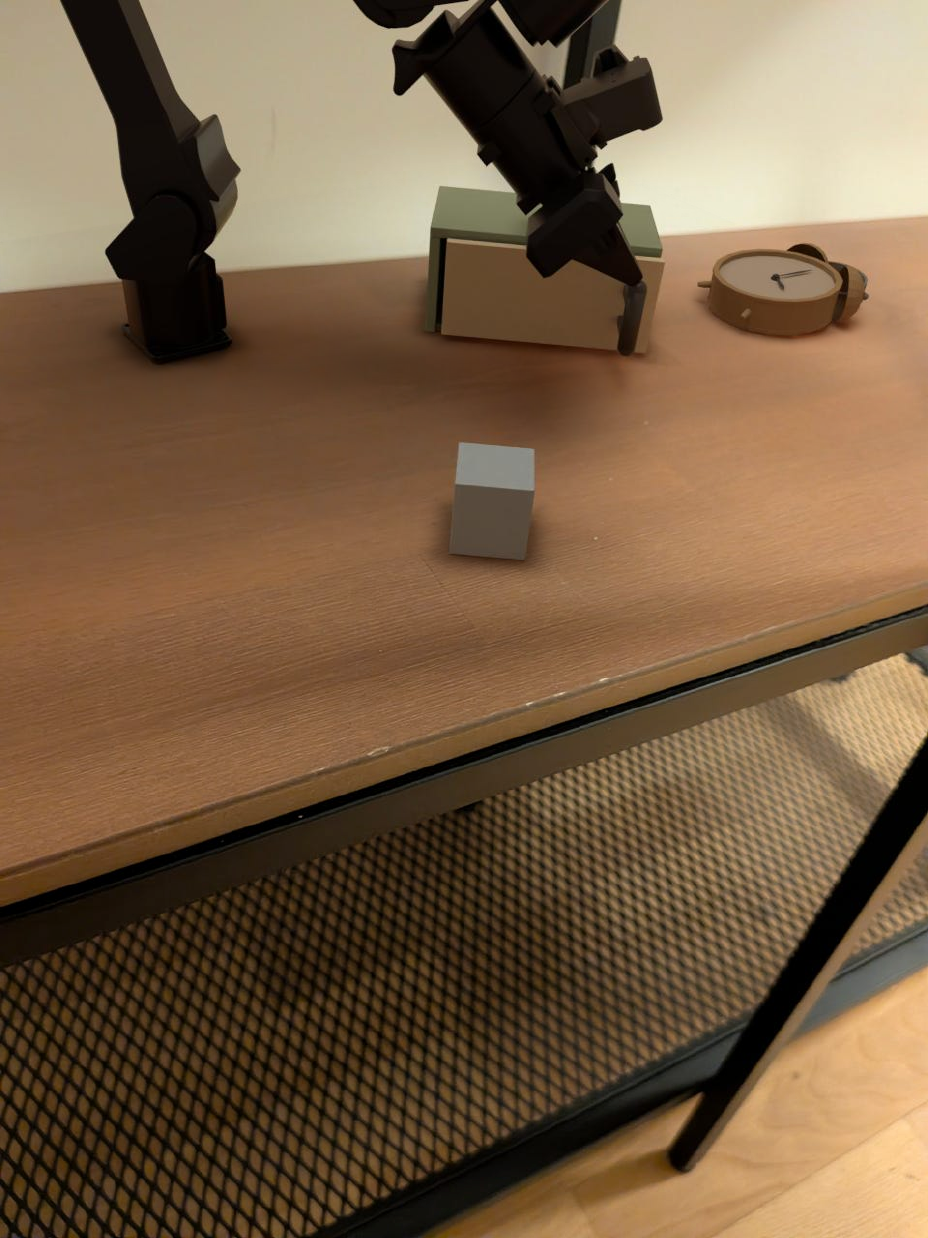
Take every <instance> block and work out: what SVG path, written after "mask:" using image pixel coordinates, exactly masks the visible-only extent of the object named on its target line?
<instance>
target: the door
mask: <svg viewBox="0 0 928 1238" xmlns="http://www.w3.org/2000/svg"><path fill="white" fill-rule="evenodd" d="M635 258H636V260H637V262H638V264H639V267H640V269H641V271H642V275H643V278H642V280H641V281H639V282H638V283H637V284H635V285H634V286H628V285H626V284H624V283H622V282H620V281H618V280H616V279H614V278H612V277H610V276H607V275H605V274H603V273H601V272H599V271H597V270H595V269H593V268H590V267H588V266H586V265H584V264H582V263H579V262H577V261H574V260H571V261H570V262H568V263H567V264H566V265H565V266H563V267H562V268H561V269H560V270H558V271H557V272H556V273H555V274H553V275H552V276H551V277H547V278H543V277H542V276H541V275H540V273H539V272H538V271H537V270H536V268H535V267H534V266H533V265H532V264H531V262H530V261H529V260H528V259H527V257H526V245H515V244H504V243H493V242H482V241H472V240H461V239H450V238H448V239H447V248H446V264H445V280H444V297H443V313H442V329H441V330H440V334H441V335H445V336H457V337H467V338H479V339H487V340H488V339H489V340H499V341H511V342H521V343H522V342H523V343H531V344H532V343H533V344H543V345H554V346H565V347H576V348H577V347H578V348H587V349H597V350H609V351H617V353H618V354H619V355H620V356H622V357H630V356H631V355H632V354H633V353H640V354H646V353H647V349H648V345H649V340H650V336H651V330H652V326H653V322H654V317H655V312H656V309H657V303H658V298H659V294H660V290H661V284H662V279H663V275H664V271H665V266H666V259H665V258H664V257H661V258H655V257H644V256H635Z"/></svg>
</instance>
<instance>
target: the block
mask: <svg viewBox="0 0 928 1238" xmlns="http://www.w3.org/2000/svg"><path fill="white" fill-rule="evenodd" d="M535 464H536V463H535V448H527V447H518V446H517V447H516V446H506V445H496V444H485V443H476V442H475V443H472V442H463V441H460V442H458V449H457V459H456V469H455V479H454V490H453V501H452V502H453V503H452V513H451V514H452V516H451V528H450V538H449V539H450V540H449V554H450V555H460V556H469V557H470V556H471V557H482V558H492V559H504V560H514V561H516V560H517V561H525V559H526V554H527V547H528V540H529V535H530V534H529V533H530V526H531V519H532V515H533V514H532V513H533V507H534V499H535V494H536V493H535V492H536V473H535V469H536V468H535Z"/></svg>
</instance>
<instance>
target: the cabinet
mask: <svg viewBox="0 0 928 1238" xmlns="http://www.w3.org/2000/svg"><path fill="white" fill-rule="evenodd" d="M516 196H517V194H516V193H515V192H510V191H500V190H489V189H479V188H467V187H457V186H448V185H447V186H446V185H439V186H438V191H437V194H436V200H435V204H434V209H433V212H432V213H433V214H432V217H431V218H432V219H431V223H430V230H429V231H430V232H429V233H430V234H429V248H428V249H429V251H428V267H427V268H428V269H427V270H428V271H427V288H426V289H427V290H426V306H425V307H426V310H425V327H424V328H425V329H424V330H425V332H429V333H430V332H431V333H435V332H436V331H441V329H442V313H443V297H444V280H445V264H446V248H447V239H448V238H450V239H461V240H472V241H482V242H493V243H504V244H515V245H526V233H527V224H528V218H529V217H530V216H531V215H532V214H533V213H535V212H536V211H537V210H538V209H539V208H540V207H542V206H543V205H542V204H539V205H538V206H537V207H535V208H534V209H533V210H532V211H531V212H529V213H528V214H527V215H526V216H525V214H524V213H523V212H522V211H521V209H520V208H519V207H518V206H517V204H516ZM621 206H622V210H623V216H622V217H621V219H620V220H619V222H620V224H621V226H622V228H623V231H624V233H625V235H626V237H627V240H628V242H629V244H630V246H631V249H632V251H633V253H634V255H635V256H644V257H655V258H662V256H663V251H664V248H663V244H662V241H661V237H660V234H659V231H658V228H657V224H656V220H655V218H654V217H655V216H654V213H653V210H652V207H651V205H649V204H638V203H629V202H621Z"/></svg>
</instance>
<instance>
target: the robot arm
mask: <svg viewBox="0 0 928 1238" xmlns="http://www.w3.org/2000/svg"><path fill="white" fill-rule="evenodd" d="M469 1H470V0H352V2H353V3H354V4H355V6H356V7H357V8H358V9H359V11H360V12H361V13H362V14H363V16H364V17H365V18H367V20H369V21H371V22H373V23H374V24H375V25H377V26H379V27H382V28H385V29H387V30H390V29H393V30H394V29H408V28H411V27H413V26H415V25H417V24H419V23H421V22H423V20H425V19H426V18H427V16H429V15H430V14H431V13H432V11H434V8H435V7H436V6H445V5H451V4H458V3H466V2H469ZM59 2H60V5H61V6H62V9H63V11H64V14H65V15H66V17H67V20H68V22H69V24H70V26H71V28H72V30H73V33H74V35H75V37H76V39H77V42H78V43H79V46H80V48H81V50H82V53H83V55H84V57H85V59H86V61H87V63H88V66H89V68H90V70H91V72H92V74H93V77H94V79H95V81H96V83H97V86H98V88H99V90H100V92H101V94H102V96H103V99H104V101H105V103H106V106H107V107H108V110H109V112H110V115H111V117H112V119H113V122H114V126H115V133H116V140H117V141H116V142H117V151H118V159H119V167H120V177H121V180H122V184H123V187H124V190H125V194H126V197H127V201H128V203H129V207H130V210H131V214H132V217H133V218H132V219H131V220H130V221H129V222H128V223H127V224H126V226H124V228H123V229H122V230H121V231H120V232H119V234H117V235H116V236H115V238H114V239H113V240H112V241H111V242H110V244H108V245H107V247H106V248H105V249H104V254H105V256H106V258H107V260H108V262H109V265H110V266H111V268H112V270H113V272H114V274H115V275H116V278H117V279H119V280H121V286H122V292H123V297H124V304H125V308H126V317H127V322H125V323H122V324H121V327H120V328H121V331H122V333H123V334H124V335H125V336H126V337H128V339H129V340H130V341H132V342H133V344H135V346H137V348H139V350H140V351H142V352H143V353H144V354H145V356H147V357H148V358H149V359H150V360H151V361H152V362H154V363H162V362H166V361H170V360H175V359H179V358H184V357H188V356H192V355H197V354H200V353H205V352H210V351H213V350H218V349H222V348H225V347H230V346H232V344H233V337H232V336H231V335H230V334H228V333H227V332H226V331H225V329H226V328H227V326H228V319H227V317H228V316H227V307H226V306H227V305H226V296H225V287H224V286H225V285H224V279H223V277H222V276H221V275H220V274H219V273H217V265H216V264H217V263H216V259H215V258H213V256H212V255H210V254H209V253H207V252H206V250H207V249H209V248H210V247H211V245H212V244H213V243H214V242H215V240H216V239H217V237H218V236H219V234H220V233H221V231H222V230H223V228H224V227H225V225H226V224H227V222H228V221H229V219H230V218H231V216H232V215H233V212H234V210H235V207H236V205H237V202H238V199H239V198H238V197H239V195H238V194H239V193H238V191H239V190H238V185H237V181H236V178H238V176H239V175H240V173H241V171H242V169H241V167H240V166H239V165H238V163H236V161H235V160H234V159H233V157H232V155H231V154H230V152H229V150H228V147H227V144H226V140H225V135H224V131H223V126H222V123H221V121H220V118H219V116H218V115H217V114H216V113H213V114H211V115H209V116H207V117H205V118H204V119H202V120H200V119H199V118H198V117H197V116H196V115H195V113H193V112H192V110H191V108H189V107H188V106H187V104H186V103H185V102H184V101H183V100H182V98H181V97H180V95H179V93H178V91H177V89H176V88H175V85H174V82H173V80H172V77H171V75H170V73H169V70H168V68H167V66H166V62H165V59H164V57H163V56H162V53H161V51H160V48H159V46H158V43H157V41H156V38H155V35H154V33H153V31H152V28H151V26H150V24H149V21H148V19H147V16H146V14H145V12H144V9H143V7H142V3H141V1H140V0H59ZM496 2H498V3H499V4H500V6H501V7H502V9H503V10H504V12H505V14H507V17H509V20H510V21H511V22H512V23H513V25H514V27H515V28H516V29H517V31H518V32H519V33H520V35H521V36H522V37H523V38H524V40H525V41H526V42H527V43H528V45H530V46H531V47H532V48H534V47H535V46H537V45H538V44H539V45H540V46H541V47H543V46H544V45H545V44H546V43H547V42H548V41H549V43H550V44H551V45H552V46H553V47H554V48H556V49H559V47H560V46H562V45H563V44H564V43H565V41H567V40H568V39H569V38H571V36H572V35H573V34H575V32H577V31H578V30H579V29H580V28H581V27H582V26H583V25H584V24H585V23H586V22H587V21H588V20H590V19H591V18H592V17H593V16H594V15H595V14H596V13H597V12H598V11H599V10H600V9H602V7H603V6H604V5H605V4H606V3H608V2H609V0H477V1H476V2H474V3H473V4H472V6H471V7H469V8H468V9H467V10H466V11H465V12H464V13H463V14H462V15H461V16H460V17H457V16H456V15H455V14H454V13H453V12H452V11H450V10H448V9H444V10H443V11H442V12H440V14H439V15H438V16H437V17H436V18H435V19H434V20H433V21H432V22H431V24H429V25H428V26H427V27H426V28H425V30H423V32H421V33H420V35H418V37H416V39H415V40H403V39H399V38H398V39H396V40H395V41H394V44H393V46H392V48H391V53H392V57H393V62H394V79H393V86H392V87H393V88H392V91H393V93H394V95H396V96H397V97H402V96H404V95H405V94H406V92H408V91H409V90H410V89H411V88H412V87H413V86H414V85H415V83H417V82H418V81H419V80H420V79H421V78H422V77H424V79H425V80H426V81H427V83H428V84H429V85H430V86H431V88H432V89H433V90H434V91H435V93H436V94H437V95H438V96H439V98H440V99H441V100H442V102H443V103H444V104H445V106H446V107H447V108H448V109H449V110H450V111H451V112H450V113H452V114H453V116H454V117H455V118H456V119H457V120H458V122H459V123H460V124H461V125H462V127H463V128H464V129H465V131H466V132H467V133H468V134H469V136H470V137H471V139H472V140H473V141H474V142H475V143H476V144H477V151H476V155H477V157H478V158H479V159H480V161H481V162H482V163H483V164H484V165H485V167H486V168H487V167H488V166H489V165H490V164H492V165H493V166H494V167H495V169H496V170H497V172H499V174H500V175H501V176H502V177H503V179H504V181H506V183H507V184H508V185H509V186H510V188H511V189H512V190H513V192H514V193H516V194H517V196H516V204H517V206H518V207H519V208H520V209H521V211H522V212H523V213H524V214H525V216H526V215H527V214H528V213H529V212H531V211H532V210H533V209H534V208H535V207H537V206H538V205H539V204H542V205H543V206H542V207H540V208H539V209H538V210H537V211H536V212H535V213H533V214H532V215H531V216H530V217H529V218H528V224H527V233H526V257H527V259H528V260H529V261H530V262H531V264H532V265H533V266H534V267H535V268H536V270H537V271H538V272H539V273H540V275H541V276H542V277H543V278H547V277H551V276H552V275H553V274H555V273H556V272H557V271H558V270H560V269H561V268H562V267H563V266H565V265H566V264H567V263H568V262H570V261H571V260H574V261H577V262H579V263H582V264H584V265H586V266H588V267H590V268H593V269H595V270H597V271H599V272H601V273H603V274H605V275H607V276H610V277H612V278H614V279H616V280H618V281H620V282H622V283H624V284H626V285H628V286H634V285H635V284H637V283H638V282H639V281H641V280H642V278H643V275H642V271H641V269H640V267H639V264H638V262H637V260H636V258H635V255H634V253H633V251H632V249H631V246H630V244H629V242H628V240H627V237H626V235H625V233H624V231H623V228H622V226H621V224H620V222H619V220H620V219H621V217H622V216H623V210H622V206H621V203H622V202H621V200H620V198H621V191H620V186H619V182H618V179H617V173H616V169H615V165H614V162H610V163H608V164H607V165H605V166H604V167H603V168H601V169H600V170H599V171H598V170H597V169H596V167H595V166H591V167H588V166H589V165H590V164H592V162H593V161H595V160H596V159H597V158H598V157H599V154H598V151H597V150H596V148H595V147H594V146H596V147H597V148H598V149H599V150H601V151H602V150H604V148H605V147H607V146H608V145H609V144H608V142H610V141H613V140H616V139H618V138H621V137H623V136H625V135H628V134H631V133H633V132H636V131H639V130H640V131H642V132H646V131H648V130H650V129H653V128H655V127H657V126H658V125H660V124H661V123H662V122H663V120H664V116H663V113H662V108H661V104H660V99H659V95H658V90H657V86H656V82H655V77H654V73H653V68H652V66H651V63H650V61H649V59H648V58H647V57H640V55H635V56H634V57H633V56H632V60H631V61H630V60H629V58H628V57H627V56H626V55H625V54H624V52H622V51H621V49H619V47H618V46H617V45H616V44H611V45H609V46H606V47H604V48H601V49H599V50H597V51H595V52H593V58H592V64H591V71H590V77H588V78H587V76H584V77H582V78H580V82H578V83H576V84H574V85H572V86H570V87H568V88H567V87H566V88H564V89H563V88H562V87H561V86H560V84H559V83H558V82H557V80H556V79H555V78H554V76H553V75H550V76H549V77H548V76H547V74H546V73H544V74H542V75H541V74H540V72H539V71H538V70H537V68H536V67H535V66H534V63H532V61H531V60H530V59H529V57H528V56H527V54H526V52H524V50H523V49H522V47H521V46H520V45H519V43H518V42H517V40H516V39H515V37H514V36H513V34H511V32H510V31H509V30H508V28H507V26H506V25H505V24H504V22H503V21H502V20H501V18H500V17H499V15H498V14H497V13H496V11H495V10H494V9H493V6H494V4H496Z"/></svg>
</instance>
